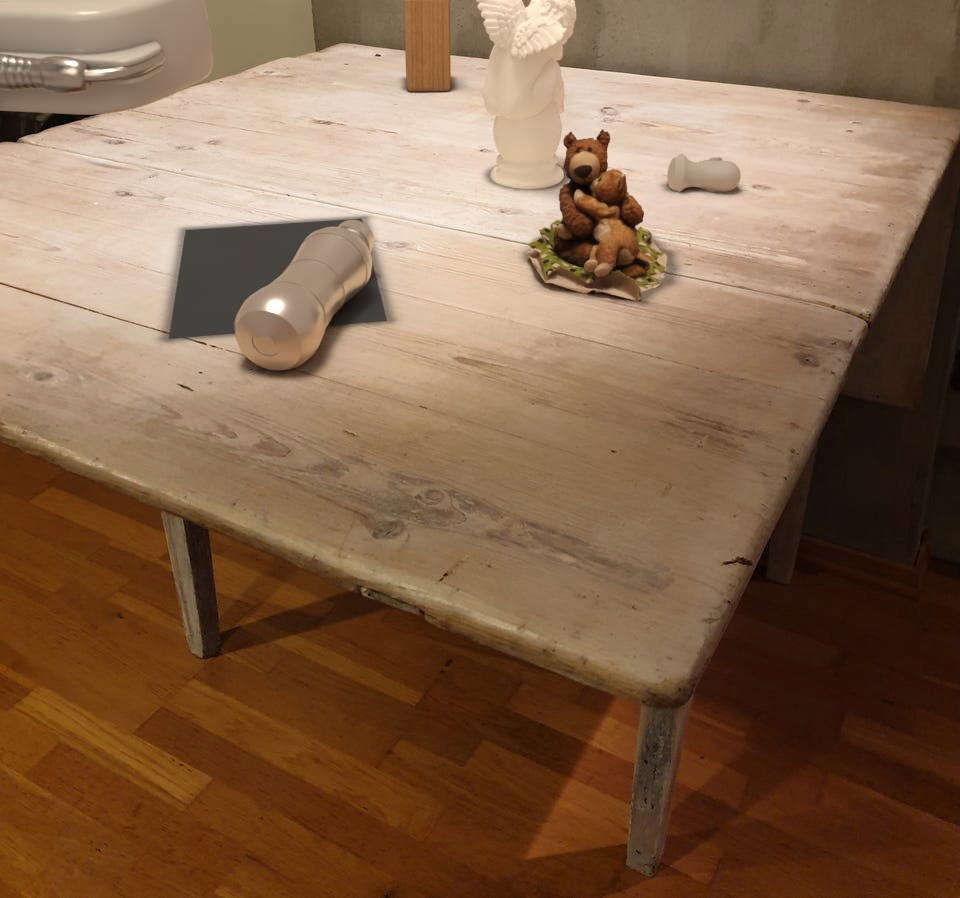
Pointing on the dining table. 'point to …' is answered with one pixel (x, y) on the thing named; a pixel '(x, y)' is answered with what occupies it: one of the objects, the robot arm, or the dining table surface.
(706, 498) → the dining table surface
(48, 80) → the robot arm
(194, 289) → the mat
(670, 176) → the pale two-lobed sculpture
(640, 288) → the bear figurine
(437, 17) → the decorative item
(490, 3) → the cherub figurine
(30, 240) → the dining table surface
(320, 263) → the plastic bottle
